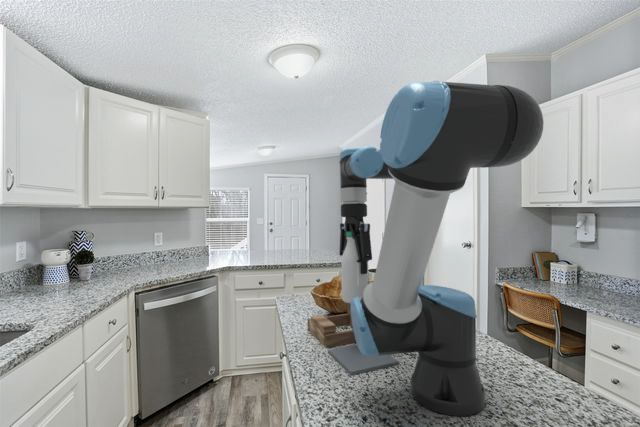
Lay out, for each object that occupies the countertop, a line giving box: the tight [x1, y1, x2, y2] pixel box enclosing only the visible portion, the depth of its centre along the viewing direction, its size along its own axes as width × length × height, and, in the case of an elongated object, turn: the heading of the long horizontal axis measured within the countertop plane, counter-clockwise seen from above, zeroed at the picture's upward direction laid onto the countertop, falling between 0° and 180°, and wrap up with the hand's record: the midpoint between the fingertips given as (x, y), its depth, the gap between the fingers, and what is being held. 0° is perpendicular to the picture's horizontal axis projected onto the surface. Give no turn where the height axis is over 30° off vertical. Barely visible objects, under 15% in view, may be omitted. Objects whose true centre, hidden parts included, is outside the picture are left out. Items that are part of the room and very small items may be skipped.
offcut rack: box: [307, 303, 356, 349], centre depth 108 cm, size 16×16×8 cm
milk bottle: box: [340, 231, 370, 304], centre depth 96 cm, size 8×8×20 cm
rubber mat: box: [327, 343, 400, 376], centre depth 91 cm, size 14×14×1 cm
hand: (355, 282), depth 96 cm, fingers closed on milk bottle, 8 cm apart
